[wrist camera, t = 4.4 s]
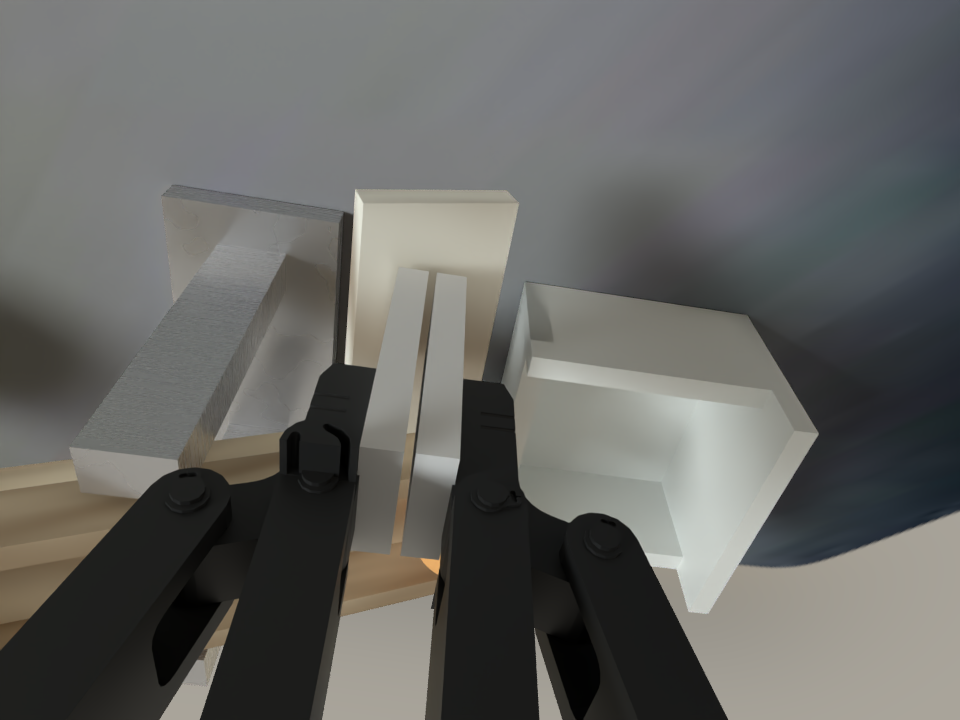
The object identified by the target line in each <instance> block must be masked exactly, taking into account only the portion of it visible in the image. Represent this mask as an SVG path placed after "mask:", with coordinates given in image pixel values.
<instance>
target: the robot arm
mask: <svg viewBox="0 0 960 720" xmlns="http://www.w3.org/2000/svg"><path fill="white" fill-rule="evenodd" d="M428 275H429V271H423V270H417V269H410V268H403V267H399V268H398V273H397V277H396V282H395V286H394V291H393V296H392V300H391V305H390V309H389V314H388V319H387V323H386V328H385V332H384V337H383V341H382V346H381V351H380V355H379V360H378V364H377V368H369V367H362V366H355V365H347V364H340V363H333V364H332V365H331V366H330V367H329V368H328V369H326V370H325V371H324V372H323V373H322V374H321V375H320V376H319V379H318V382H317V385H316V388H315V391H314V395H313V397H312V400H311V403H310V408H309V409H308V412H307V415H306V418H305V420H303V421H300V422H297V423H295V424H293V425H292V426H290V427H289V428H287V429H286V430H285V431H284V433H283V434H282V436H281V437H280V439H279V470H280V471H279V472H278V473H276V474H275V475H273V476H270V477H268V478H265V479H262V480H258V481H253V482H247V483H239V484H232V485H229V483H228V482H227V481H226V479H225V478H224V477H223V475H221V474H219V473H217V472H215V471H213V470H211V469H205V468H198V467H192V468H184V469H178V470H176V471H173V472H171V473H168V474H166V475H163V476H162V477H161V478H159V479H158V480H157V481H156V482H154V483H153V484H152V485H151V486H150V487H149V488H148V489H147V490H146V491H145V492H144V493H143V495H142V496H141V497H140V498H139V499H138V500H137V501H136V502H135V503H134V504H133V506H132V507H131V508H130V509H129V510H128V511H127V512H126V513H125V514H124V515H123V516H122V518H121V519H120V520H119V521H118V522H117V523H116V524H115V525H114V526H113V527H112V529H111V530H110V531H109V532H108V533H107V534H106V535H105V536H104V537H103V538H102V539H101V541H100V542H99V543H98V544H97V545H96V546H95V547H94V548H93V549H92V550H91V552H90V553H89V554H88V555H87V556H86V557H85V558H84V559H83V560H82V561H81V563H80V564H79V565H78V566H77V567H76V568H75V569H74V570H73V571H72V572H71V573H70V575H69V576H68V577H67V578H66V579H65V580H64V581H63V582H62V583H61V584H60V586H59V587H58V588H57V589H56V590H55V591H54V592H53V593H52V594H51V595H50V596H49V598H48V599H47V600H46V601H45V602H44V603H43V604H42V605H41V606H40V607H39V609H38V610H37V611H36V612H35V613H34V614H33V615H32V616H31V617H30V618H29V620H28V621H27V622H26V623H25V624H24V625H23V626H22V627H21V628H20V629H19V630H18V632H17V633H16V634H15V635H14V636H13V637H12V638H11V639H10V640H9V641H8V643H7V644H6V645H5V646H4V647H3V648H2V649H1V650H0V720H159V719H160V718H161V716H162V714H163V713H164V711H165V710H166V708H167V707H168V705H169V703H170V702H171V700H172V699H173V697H174V695H175V694H176V692H177V691H178V689H179V688H180V686H181V684H182V683H183V681H184V680H185V678H186V677H187V675H188V673H189V672H190V670H191V669H192V667H193V666H194V664H195V662H196V661H197V659H198V658H199V656H200V654H201V653H202V651H203V650H204V648H205V647H206V645H207V643H208V642H209V640H210V639H211V637H212V636H213V634H214V632H215V631H216V629H217V628H218V626H219V624H220V623H221V621H222V620H223V618H224V617H225V615H226V613H227V612H228V610H229V609H230V607H231V606H232V604H233V601H234V599H239V601H238V604H237V607H236V610H235V613H234V616H233V619H232V622H231V625H230V628H229V632H228V635H227V638H226V641H225V644H224V647H223V650H222V653H221V656H220V659H219V662H218V666H217V669H216V672H215V675H214V678H213V682H212V684H211V687H210V690H209V693H208V696H207V699H206V703H205V706H204V709H203V712H202V715H201V718H200V720H322V716H323V710H324V705H325V699H326V694H327V688H328V682H329V677H330V671H331V666H332V660H333V654H334V648H335V643H336V637H337V632H338V626H339V620H340V615H341V609H342V604H343V598H344V593H345V587H346V581H347V576H348V564H349V556H350V551H360V552H369V553H379V554H388V555H390V551H391V544H392V536H393V529H394V522H395V515H396V508H397V500H398V493H399V486H400V479H401V472H402V464H403V457H404V450H405V443H406V435H407V428H408V421H409V413H410V406H411V399H412V392H413V384H414V377H415V370H416V362H417V355H418V348H419V341H420V333H421V326H422V319H423V311H424V304H425V297H426V290H427V282H428ZM466 288H467V277H464V276H457V275H450V274H443V273H437V276H436V283H435V290H434V297H433V304H432V310H431V317H430V324H429V331H428V338H427V345H426V351H425V358H424V366H423V374H422V382H421V391H420V399H419V407H418V415H417V424H416V432H415V440H414V448H413V457H412V465H411V473H410V481H409V489H408V498H407V506H406V514H405V522H404V531H403V539H402V547H401V555H400V556H406V557H415V558H424V559H434V560H439V559H440V568H439V573H438V578H437V583H436V587H435V592H434V597H433V602H432V607H431V609H434V617H433V629H432V641H431V654H430V666H429V679H428V690H427V703H426V715H425V720H539V706H538V689H537V671H536V652H535V635H534V628H535V632H536V636H537V639H538V642H539V646H540V649H541V652H542V655H543V658H544V662H545V665H546V668H547V671H548V674H549V678H550V681H551V683H552V687H553V690H554V694H555V697H556V700H557V703H558V706H559V709H560V713H561V716H562V719H563V720H728V718H727V716H726V714H725V712H724V711H723V709H722V707H721V705H720V703H719V701H718V699H717V697H716V695H715V693H714V691H713V689H712V687H711V685H710V683H709V681H708V679H707V677H706V675H705V673H704V671H703V669H702V667H701V665H700V663H699V661H698V659H697V657H696V655H695V653H694V651H693V649H692V647H691V645H690V643H689V641H688V639H687V637H686V635H685V633H684V631H683V629H682V627H681V625H680V623H679V621H678V619H677V617H676V615H675V613H674V611H673V609H672V607H671V605H670V603H669V601H668V599H667V597H666V595H665V593H664V591H663V589H662V587H661V585H660V583H659V581H658V579H657V577H656V575H655V573H654V571H653V569H652V567H651V565H650V563H649V561H648V559H647V557H646V555H645V553H644V551H643V549H642V547H641V545H640V543H639V541H638V539H637V538H636V536H635V535H634V534H633V532H632V531H631V530H630V528H629V527H627V526H626V525H625V524H623V523H622V522H621V521H619V520H618V519H616V518H613V517H611V516H608V515H606V514H601V513H591V512H590V513H586V514H582V515H578V516H577V517H576V518H575V519H573V520H572V521H571V522H570V523H569V522H566V521H564V520H561V519H558V518H556V517H553V516H551V515H549V514H547V513H545V512H543V511H541V510H539V509H538V508H537V507H535V506H534V505H532V504H531V503H530V501H529V500H528V499H527V498H526V497H525V494H524V492H523V491H522V489H521V488H520V484H519V478H518V461H517V445H516V433H515V430H516V429H515V420H514V417H515V413H514V400H513V398H512V396H511V395H510V393H509V392H508V390H507V389H506V387H505V385H504V384H499V383H492V382H484V381H477V380H470V379H463V367H464V341H465V315H466ZM440 554H441V555H440Z"/></svg>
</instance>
